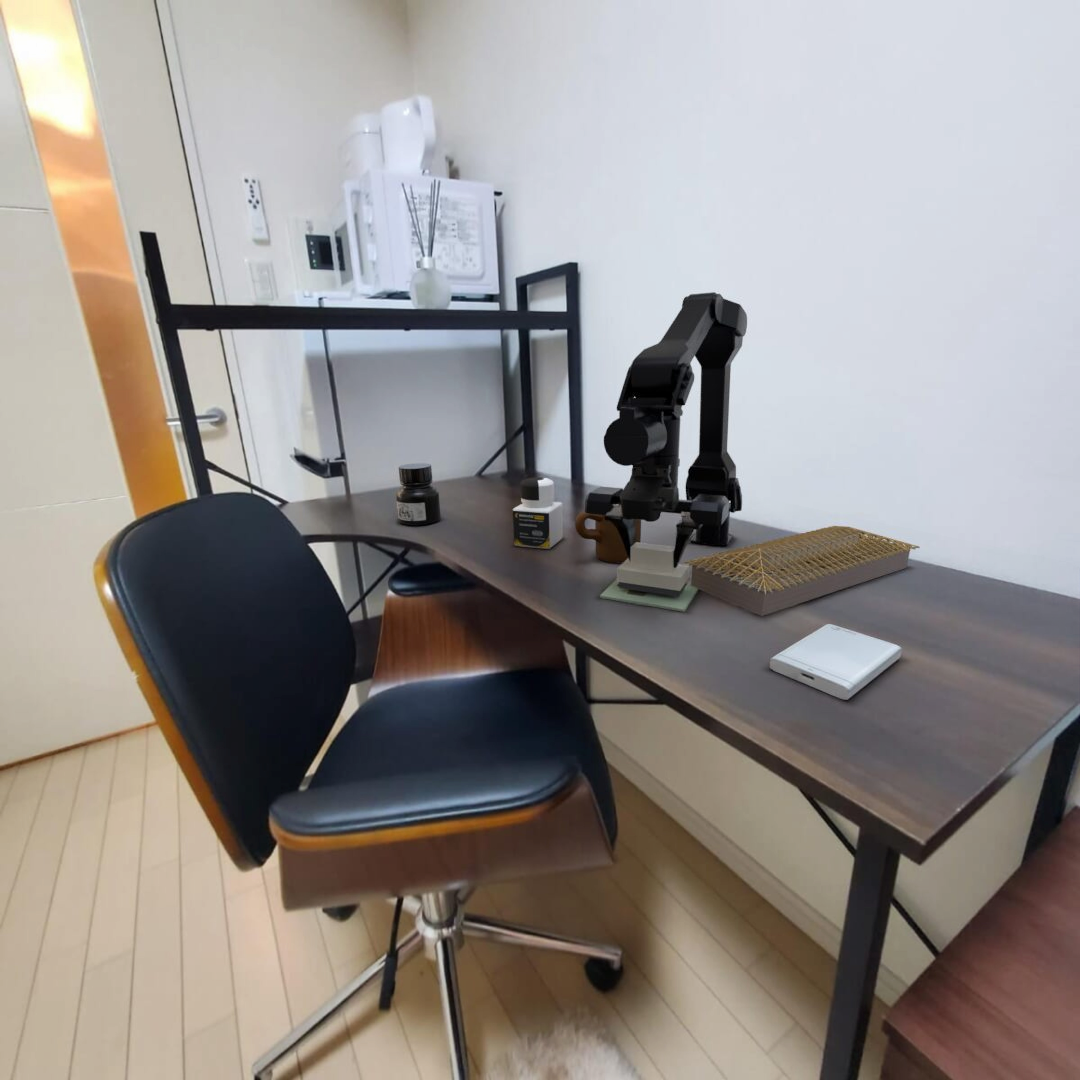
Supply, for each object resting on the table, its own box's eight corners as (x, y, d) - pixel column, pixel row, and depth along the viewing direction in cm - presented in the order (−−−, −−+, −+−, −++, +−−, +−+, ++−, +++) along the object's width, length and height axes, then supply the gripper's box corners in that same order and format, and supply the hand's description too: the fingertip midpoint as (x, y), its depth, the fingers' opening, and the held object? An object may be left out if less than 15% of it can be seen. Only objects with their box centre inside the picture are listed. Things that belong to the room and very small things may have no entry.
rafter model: (830, 544, 101) (834, 511, 99) (915, 568, 89) (922, 530, 87) (681, 584, 84) (684, 544, 82) (763, 619, 72) (767, 574, 70)
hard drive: (827, 622, 68) (770, 655, 61) (902, 646, 62) (849, 686, 55) (825, 634, 69) (769, 669, 61) (900, 660, 63) (847, 702, 55)
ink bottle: (389, 522, 124) (383, 467, 120) (422, 513, 130) (417, 461, 127) (417, 529, 118) (412, 471, 114) (450, 519, 124) (446, 465, 121)
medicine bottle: (513, 546, 105) (510, 482, 102) (528, 535, 111) (526, 474, 108) (549, 549, 103) (548, 484, 99) (563, 538, 109) (562, 476, 105)
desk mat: (621, 576, 89) (621, 573, 89) (699, 588, 84) (699, 585, 83) (599, 597, 81) (599, 594, 81) (684, 612, 76) (684, 608, 76)
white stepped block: (628, 576, 86) (628, 538, 84) (688, 584, 82) (690, 545, 80) (616, 588, 82) (617, 548, 80) (679, 597, 78) (681, 556, 76)
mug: (588, 572, 91) (587, 515, 88) (564, 558, 98) (564, 505, 95) (649, 559, 96) (650, 504, 93) (623, 547, 103) (624, 496, 100)
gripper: (568, 459, 74) (569, 573, 78) (717, 468, 65) (709, 594, 70) (599, 447, 83) (599, 549, 88) (733, 453, 75) (725, 565, 79)
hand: (653, 564), depth 81 cm, fingers closed on white stepped block, 6 cm apart
